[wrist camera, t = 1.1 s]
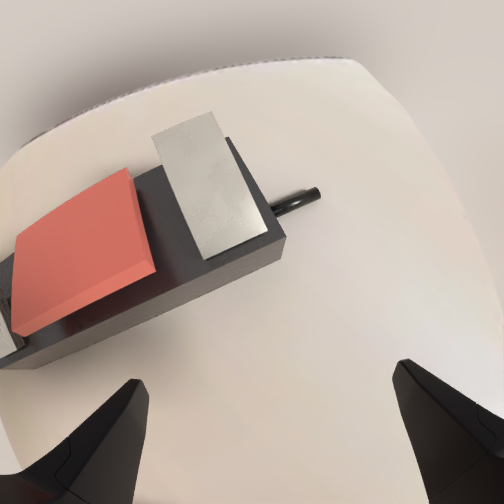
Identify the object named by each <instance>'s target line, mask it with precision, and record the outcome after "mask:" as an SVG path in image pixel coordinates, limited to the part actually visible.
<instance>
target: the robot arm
mask: <svg viewBox="0 0 504 504" xmlns="http://www.w3.org/2000/svg"><path fill="white" fill-rule="evenodd" d="M392 381H393V385H394V389H395V393H396V397H397V401H398V405H399V409H400V412H401V416H402V419H403V422H404V424H405V427H406V430H407V433H408V436H409V439H410V441H411V444H412V447H413V450H414V453H415V456H416V459H417V463H418V466H419V469H420V472H421V475H422V479H423V482H424V486H425V489H426V493H427V496H428V500H429V504H504V419H502V418H500V417H499V416H497V415H495V414H493V413H491V412H490V411H488V410H487V409H485V408H483V407H482V406H480V405H479V404H476V402H474V401H473V400H471V399H470V398H468V397H466V396H465V395H463V394H462V393H460V392H459V391H457V390H456V389H454V388H453V387H451V386H450V385H448V384H447V383H445V382H444V381H442V380H441V379H439V378H438V377H436V376H435V375H433V374H432V373H430V372H428V371H427V370H425V369H424V368H422V367H421V366H419V365H418V364H416V363H415V362H413V361H412V360H410V359H404V360H400V361H399V362H398V363H397V365H396V368H395V371H394V373H393V377H392ZM148 406H149V394H148V392H147V390H146V388H145V385H144V383H143V381H142V380H140V379H130V380H128V381H127V382H126V383H125V384H124V385H123V386H122V387H121V388H120V389H119V390H118V391H117V392H116V393H114V394H113V395H112V396H111V397H110V398H109V399H108V400H107V401H106V402H105V403H104V404H103V405H101V406H100V407H99V408H98V409H97V410H96V411H95V412H94V413H93V414H92V415H91V416H90V417H88V418H87V419H86V420H85V421H84V422H83V423H82V424H81V425H80V426H79V427H78V428H76V429H75V430H74V431H73V432H72V433H71V434H70V435H69V437H66V438H65V439H64V440H63V441H62V442H61V443H60V444H59V445H57V446H56V447H55V448H54V449H53V450H51V451H50V452H49V453H47V454H46V455H45V456H43V457H42V458H41V459H39V460H38V461H36V462H35V463H33V464H32V465H31V466H29V467H28V468H26V469H25V470H23V471H21V472H19V473H16V474H12V475H0V504H132V502H133V496H134V490H135V485H136V479H137V474H138V469H139V464H140V459H141V454H142V449H143V445H144V440H145V434H146V425H147V415H148Z"/></svg>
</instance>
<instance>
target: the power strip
mask: <svg viewBox="0 0 504 504" xmlns="http://www.w3.org/2000/svg"><path fill="white" fill-rule="evenodd" d="M151 137H152V140H153V142H154V145H155V147H156V150H157V152H158V155H159V157H160V160H161V162H162V165H160V166H158V167H156V168H154V169H152V170H150V171H148V172H146V173H144V174H142V175H140V176H138V177H136V178H134V179H133V180H134V185H135V190H136V194H137V199H138V203H139V208H140V212H141V216H142V221H143V225H144V229H145V233H146V237H147V241H148V244H149V248H150V252H151V255H152V259H153V263H154V266H155V270H156V272H154V273H152V274H150V275H147V276H145V277H143V278H141V279H139V280H137V281H135V282H133V283H131V284H129V285H127V286H125V287H123V288H121V289H119V290H117V291H115V292H113V293H110V294H108V295H106V296H104V297H102V298H100V299H98V300H96V301H94V302H92V303H90V304H88V305H86V306H84V307H82V308H80V309H78V310H76V311H74V312H72V313H70V314H69V315H67V316H65V317H63V318H61V319H59V320H57V321H55V322H53V323H51V324H49V325H47V326H45V327H43V328H41V329H39V330H37V331H36V332H34V333H32V334H30V335H28V336H26V337H23V336H21V335H19V334H17V333H15V332H13V331H12V327H11V297H12V277H13V265H14V255H15V252H14V253H13V254H11V255H10V256H9V257H7V258H6V259H5V260H4V261H2V262H1V263H0V369H13V370H18V369H36V368H38V367H41V366H43V365H45V364H48V363H50V362H53V361H55V360H57V359H60V358H62V357H64V356H67V355H69V354H72V353H74V352H76V351H79V350H81V349H83V348H86V347H88V346H90V345H92V344H95V343H97V342H99V341H102V340H104V339H106V338H109V337H111V336H113V335H115V334H118V333H120V332H122V331H125V330H127V329H129V328H131V327H134V326H136V325H138V324H140V323H143V322H145V321H147V320H149V319H152V318H154V317H156V316H158V315H161V314H163V313H165V312H167V311H169V310H172V309H174V308H176V307H178V306H180V305H183V304H185V303H187V302H189V301H191V300H194V299H196V298H198V297H200V296H202V295H204V294H207V293H209V292H211V291H213V290H215V289H217V288H220V287H222V286H224V285H226V284H228V283H230V282H232V281H235V280H237V279H239V278H241V277H243V276H245V275H247V274H250V273H252V272H254V271H256V270H258V269H260V268H262V267H264V266H266V265H269V264H271V263H273V262H275V261H277V260H279V259H281V255H282V251H283V247H284V244H285V240H286V235H285V233H284V231H283V229H282V228H281V226H280V224H279V222H278V220H277V219H276V218H277V217H279V216H282V215H284V214H286V213H288V212H291V211H293V210H295V209H298V208H300V207H302V206H304V205H307V204H309V203H311V202H314V201H316V200H318V199H320V198H321V195H320V192H319V190H318V189H317V188H316V187H314V188H311V189H309V190H307V191H304V192H302V193H299V194H297V195H295V196H292V197H290V198H288V199H285V200H283V201H281V202H278V203H276V204H274V205H271V206H269V205H268V203H267V201H266V199H265V198H264V196H263V194H262V192H261V191H260V189H259V187H258V185H257V184H256V182H255V180H254V179H253V177H252V175H251V173H250V172H249V170H248V168H247V167H246V165H245V163H244V162H243V160H242V158H241V157H240V155H239V153H238V152H237V150H236V148H235V147H234V145H233V143H232V142H231V140H230V138H229V137H226V138H224V136H223V134H222V132H221V130H220V127H219V125H218V123H217V121H216V119H215V117H214V115H213V113H212V111H211V112H208V113H206V114H203V115H201V116H198V117H195V118H193V119H190V120H188V121H185V122H183V123H181V124H178V125H176V126H173V127H171V128H169V129H167V130H164V131H162V132H160V133H158V134H155V135H153V136H151Z"/></svg>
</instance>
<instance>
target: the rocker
mask: <svg viewBox="0 0 504 504" xmlns="http://www.w3.org/2000/svg"><path fill="white" fill-rule="evenodd" d="M154 272H156V270H155V266H154V263H153V259H152V255H151V252H150V248H149V244H148V241H147V237H146V233H145V229H144V225H143V221H142V216H141V212H140V208H139V203H138V199H137V194H136V190H135V185H134V180H133V178H132V176H131V175H130V173H129V171H128V170H127V168H124V169H122V170H120V171H119V172H117V173H115V174H113V175H111V176H109V177H107V178H106V179H104V180H102V181H100V182H99V183H97V184H95V185H93V186H92V187H90V188H88V189H86V190H85V191H83V192H81V193H80V194H78V195H76V196H75V197H73V198H72V199H70V200H68V201H67V202H65V203H64V204H62V205H61V206H59V207H58V208H56V209H54V210H53V211H51V212H50V213H49V214H47V215H46V216H44V217H43V218H41V219H40V220H38V221H37V222H36V223H34V224H33V225H31V226H30V227H29V228H27V229H26V230H24V231H23V232H22V233H20V234H19V235H18V236H17V239H16V247H15V255H14V265H13V277H12V297H11V327H12V331H13V332H15V333H17V334H19V335H21V336H23V337H26V336H28V335H30V334H32V333H34V332H36V331H37V330H39V329H41V328H43V327H45V326H47V325H49V324H51V323H53V322H55V321H57V320H59V319H61V318H63V317H65V316H67V315H69V314H70V313H72V312H74V311H76V310H78V309H80V308H82V307H84V306H86V305H88V304H90V303H92V302H94V301H96V300H98V299H100V298H102V297H104V296H106V295H108V294H110V293H113V292H115V291H117V290H119V289H121V288H123V287H125V286H127V285H129V284H131V283H133V282H135V281H137V280H139V279H141V278H143V277H145V276H147V275H150V274H152V273H154Z"/></svg>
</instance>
